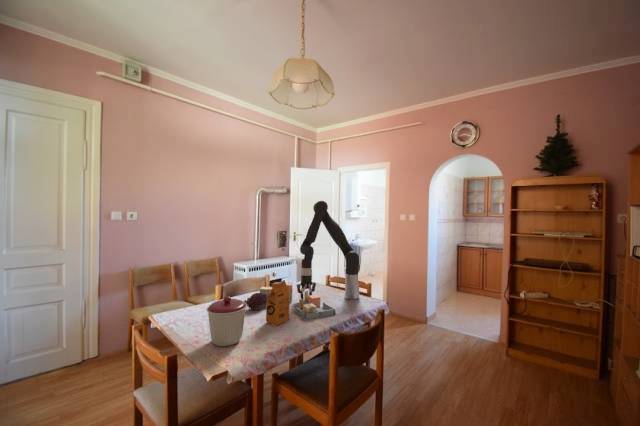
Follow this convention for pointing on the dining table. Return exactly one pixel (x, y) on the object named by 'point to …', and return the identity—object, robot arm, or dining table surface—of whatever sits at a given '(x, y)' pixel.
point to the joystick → (312, 299)
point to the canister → (226, 321)
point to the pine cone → (256, 300)
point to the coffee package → (278, 304)
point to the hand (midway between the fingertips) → (306, 298)
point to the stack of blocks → (268, 289)
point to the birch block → (307, 307)
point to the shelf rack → (317, 314)
